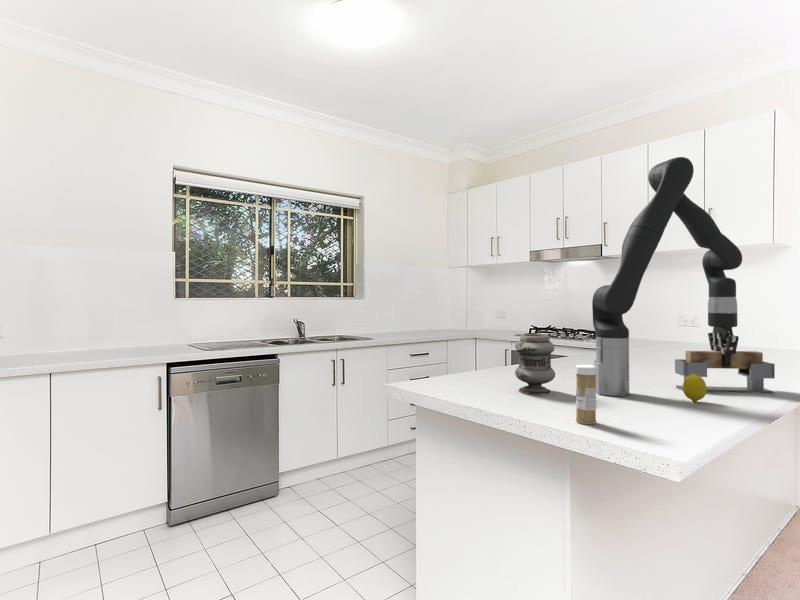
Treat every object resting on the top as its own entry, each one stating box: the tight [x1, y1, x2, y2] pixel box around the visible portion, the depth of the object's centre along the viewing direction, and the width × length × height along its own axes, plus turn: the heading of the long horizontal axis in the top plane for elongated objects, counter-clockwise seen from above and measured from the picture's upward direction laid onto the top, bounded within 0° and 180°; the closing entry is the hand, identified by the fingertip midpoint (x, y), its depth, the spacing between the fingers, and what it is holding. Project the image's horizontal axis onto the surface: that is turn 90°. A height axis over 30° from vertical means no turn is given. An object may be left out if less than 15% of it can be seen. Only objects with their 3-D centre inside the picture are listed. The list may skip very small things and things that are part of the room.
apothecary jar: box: [514, 333, 556, 396], centre depth 140 cm, size 12×12×18 cm
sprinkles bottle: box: [575, 364, 597, 425], centre depth 105 cm, size 5×5×14 cm
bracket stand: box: [674, 358, 776, 394], centre depth 140 cm, size 25×7×9 cm, turn 79°
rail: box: [684, 350, 764, 370], centre depth 140 cm, size 20×4×5 cm, turn 79°
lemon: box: [682, 374, 707, 403], centre depth 124 cm, size 6×6×8 cm
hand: (722, 366), depth 140 cm, fingers closed on rail, 3 cm apart
